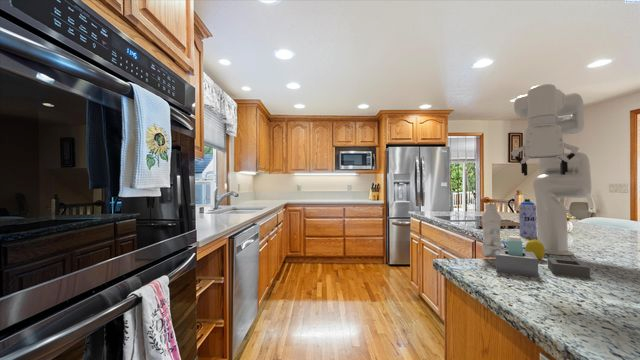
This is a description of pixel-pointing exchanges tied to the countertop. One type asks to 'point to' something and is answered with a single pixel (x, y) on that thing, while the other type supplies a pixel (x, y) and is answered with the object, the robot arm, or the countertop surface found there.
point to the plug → (515, 245)
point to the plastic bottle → (491, 230)
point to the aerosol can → (527, 219)
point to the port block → (516, 263)
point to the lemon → (535, 248)
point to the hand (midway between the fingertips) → (543, 175)
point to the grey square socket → (568, 268)
